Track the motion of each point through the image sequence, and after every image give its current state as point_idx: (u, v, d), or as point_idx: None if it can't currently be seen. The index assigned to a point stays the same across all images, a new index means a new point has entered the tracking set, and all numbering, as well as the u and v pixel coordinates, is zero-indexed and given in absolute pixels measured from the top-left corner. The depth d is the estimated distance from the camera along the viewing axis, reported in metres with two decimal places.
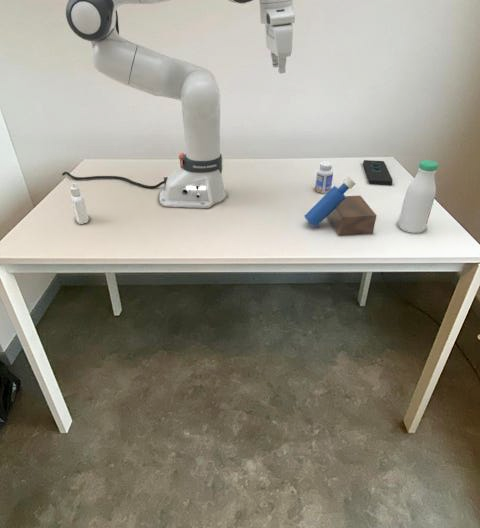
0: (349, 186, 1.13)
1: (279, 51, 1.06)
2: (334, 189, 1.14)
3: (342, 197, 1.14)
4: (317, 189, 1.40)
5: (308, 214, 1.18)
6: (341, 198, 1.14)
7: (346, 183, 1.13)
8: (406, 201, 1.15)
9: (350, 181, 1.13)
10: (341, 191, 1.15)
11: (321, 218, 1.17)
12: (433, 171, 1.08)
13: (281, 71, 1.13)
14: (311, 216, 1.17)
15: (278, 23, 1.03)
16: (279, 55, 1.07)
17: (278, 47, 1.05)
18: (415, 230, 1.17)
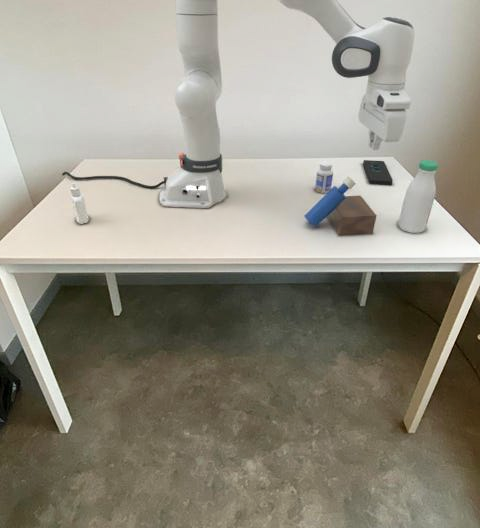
0: (349, 186, 1.13)
1: (388, 136, 0.97)
2: (334, 189, 1.14)
3: (342, 197, 1.14)
4: (317, 189, 1.40)
5: (308, 214, 1.18)
6: (341, 198, 1.14)
7: (346, 183, 1.13)
8: (406, 201, 1.15)
9: (350, 181, 1.13)
10: (341, 191, 1.15)
11: (321, 218, 1.17)
12: (433, 171, 1.08)
13: (375, 148, 1.08)
14: (311, 216, 1.17)
15: (392, 108, 0.95)
16: (387, 140, 0.98)
17: (388, 132, 0.97)
18: (415, 230, 1.17)
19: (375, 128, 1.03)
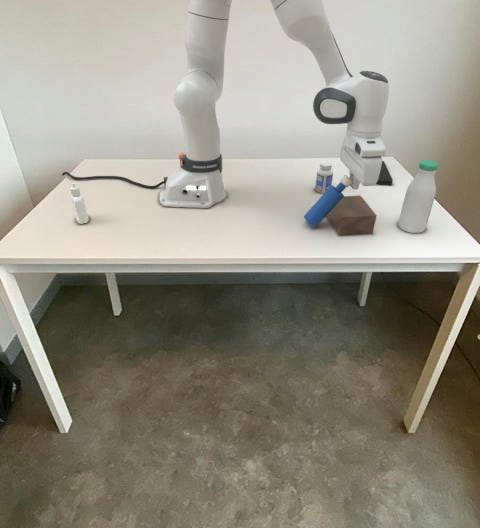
0: (346, 184, 1.13)
1: (365, 181, 1.04)
2: (331, 188, 1.14)
3: (340, 196, 1.14)
4: (317, 189, 1.40)
5: (307, 215, 1.18)
6: (339, 197, 1.14)
7: (343, 182, 1.13)
8: (406, 201, 1.15)
9: (347, 179, 1.12)
10: (338, 190, 1.14)
11: (320, 218, 1.17)
12: (433, 171, 1.08)
13: (354, 188, 1.14)
14: (310, 217, 1.18)
15: (369, 156, 1.01)
16: (364, 184, 1.04)
17: (365, 178, 1.03)
18: (415, 230, 1.17)
19: (354, 171, 1.09)
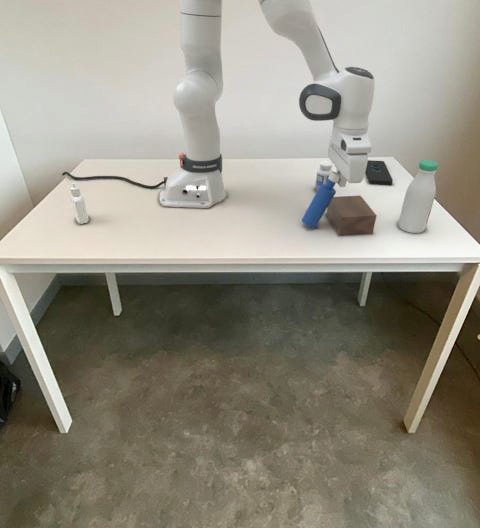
0: (335, 181, 1.12)
1: (351, 178, 1.03)
2: (321, 188, 1.14)
3: (331, 193, 1.13)
4: (317, 189, 1.40)
5: (304, 217, 1.19)
6: (330, 194, 1.13)
7: (331, 179, 1.12)
8: (406, 201, 1.15)
9: (334, 176, 1.11)
10: (329, 187, 1.13)
11: (317, 218, 1.17)
12: (433, 171, 1.08)
13: (341, 185, 1.13)
14: (307, 219, 1.18)
15: (354, 152, 1.00)
16: (350, 181, 1.04)
17: (351, 175, 1.02)
18: (415, 230, 1.17)
19: (341, 168, 1.08)
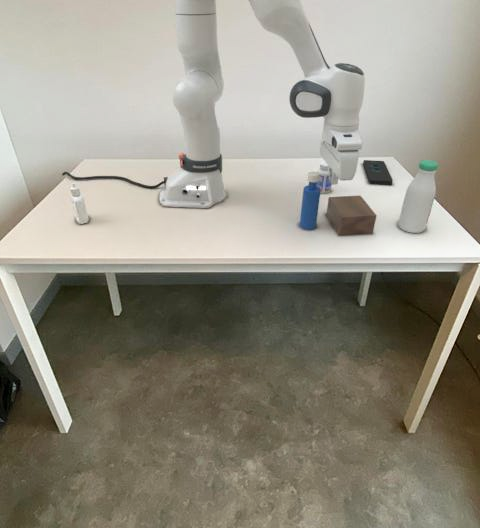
0: (314, 181, 1.11)
1: (342, 175, 1.02)
2: (304, 191, 1.14)
3: (315, 193, 1.13)
4: None
5: (300, 223, 1.20)
6: (315, 195, 1.13)
7: (310, 180, 1.12)
8: (406, 201, 1.15)
9: (312, 177, 1.11)
10: (311, 188, 1.13)
11: (312, 220, 1.17)
12: (433, 171, 1.08)
13: (333, 183, 1.12)
14: (303, 223, 1.19)
15: (345, 149, 0.99)
16: (341, 179, 1.03)
17: (342, 172, 1.01)
18: (415, 230, 1.17)
19: (332, 165, 1.08)
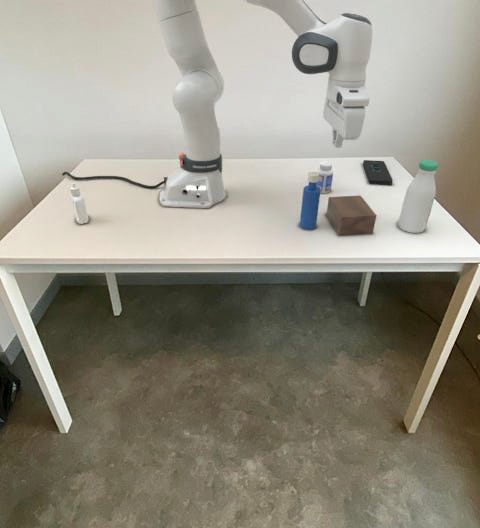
0: (314, 181, 1.11)
1: (347, 134, 0.96)
2: (304, 191, 1.14)
3: (315, 193, 1.13)
4: None
5: (300, 223, 1.20)
6: (315, 195, 1.13)
7: (310, 180, 1.12)
8: (406, 201, 1.15)
9: (311, 177, 1.11)
10: (311, 189, 1.13)
11: (312, 220, 1.17)
12: (433, 171, 1.08)
13: (337, 145, 1.07)
14: (303, 223, 1.19)
15: (351, 105, 0.94)
16: (346, 138, 0.97)
17: (347, 130, 0.96)
18: (415, 230, 1.17)
19: (336, 125, 1.02)
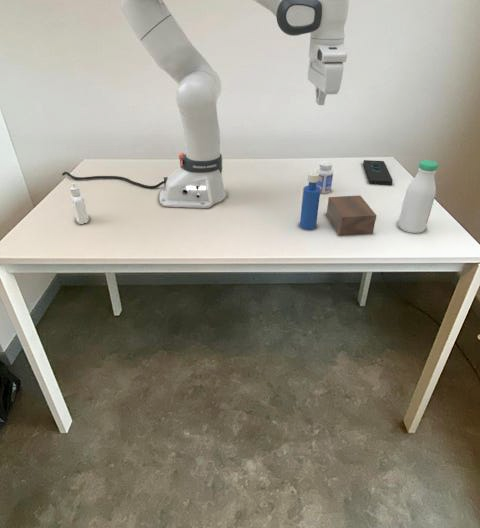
0: (314, 181, 1.11)
1: (327, 88, 1.05)
2: (304, 191, 1.14)
3: (315, 193, 1.13)
4: None
5: (300, 223, 1.20)
6: (315, 195, 1.13)
7: (310, 180, 1.12)
8: (406, 201, 1.15)
9: (311, 177, 1.11)
10: (311, 189, 1.13)
11: (312, 220, 1.17)
12: (433, 171, 1.08)
13: (320, 103, 1.15)
14: (303, 223, 1.19)
15: (330, 61, 1.02)
16: (326, 92, 1.05)
17: (327, 84, 1.04)
18: (415, 230, 1.17)
19: (318, 83, 1.10)
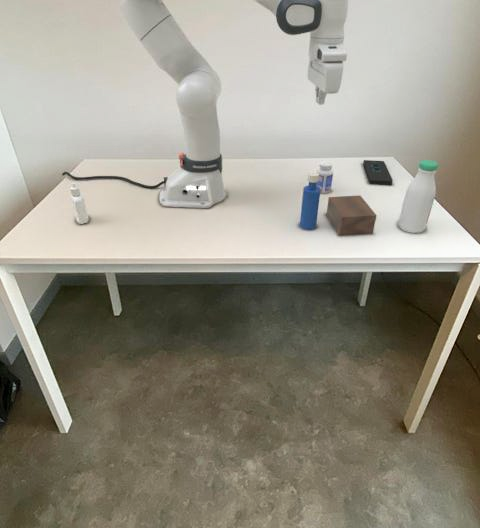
0: (314, 181, 1.11)
1: (327, 87, 1.05)
2: (304, 191, 1.14)
3: (315, 193, 1.13)
4: None
5: (300, 223, 1.20)
6: (315, 195, 1.13)
7: (310, 180, 1.12)
8: (406, 201, 1.15)
9: (311, 177, 1.11)
10: (311, 189, 1.13)
11: (312, 220, 1.17)
12: (433, 171, 1.08)
13: (320, 102, 1.15)
14: (303, 223, 1.19)
15: (330, 60, 1.02)
16: (326, 91, 1.05)
17: (327, 83, 1.04)
18: (415, 230, 1.17)
19: (318, 82, 1.10)
